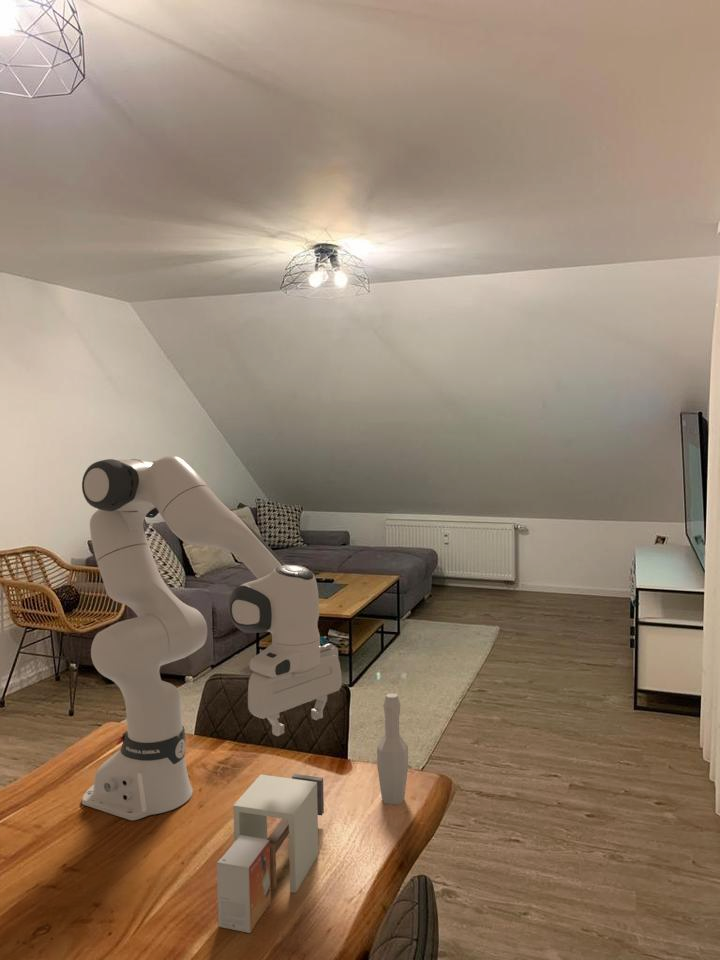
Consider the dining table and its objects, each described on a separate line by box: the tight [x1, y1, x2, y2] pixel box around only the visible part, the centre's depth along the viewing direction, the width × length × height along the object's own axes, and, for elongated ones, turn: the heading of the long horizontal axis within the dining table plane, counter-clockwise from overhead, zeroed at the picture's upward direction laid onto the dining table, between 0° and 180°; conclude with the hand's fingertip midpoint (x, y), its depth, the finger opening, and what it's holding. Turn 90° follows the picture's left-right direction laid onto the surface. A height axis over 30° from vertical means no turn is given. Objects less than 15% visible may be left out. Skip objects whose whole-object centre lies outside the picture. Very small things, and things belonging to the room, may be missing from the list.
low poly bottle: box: [376, 693, 409, 806], centre depth 144 cm, size 6×6×22 cm
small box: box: [216, 835, 272, 934], centre depth 110 cm, size 8×6×10 cm
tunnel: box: [232, 774, 319, 894], centre depth 122 cm, size 11×11×14 cm
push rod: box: [267, 773, 325, 890], centre depth 125 cm, size 6×24×7 cm, turn 164°
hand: (298, 726), depth 130 cm, fingers open, 8 cm apart
